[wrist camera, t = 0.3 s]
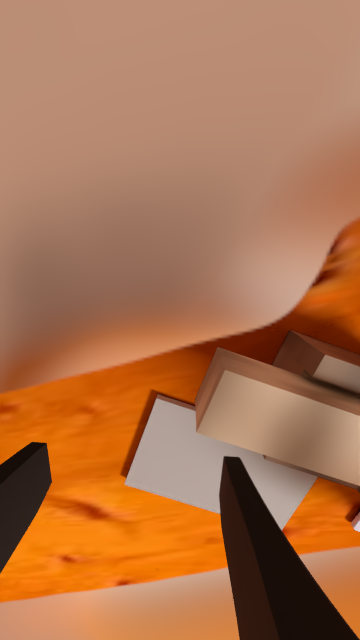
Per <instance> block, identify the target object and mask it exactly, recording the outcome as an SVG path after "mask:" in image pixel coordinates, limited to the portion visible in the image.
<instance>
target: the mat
mask: <svg viewBox="0 0 360 640" xmlns="http://www.w3.org/2000/svg"><path fill="white" fill-rule="evenodd" d="M224 456H231V457H240V459H241V460H242V462H243V464H244V466H245V468H246V470H247V472H248V474H249V476H250V477H251V479H252V481H253V483H254V485H255V487H256V488H257V490H258V492H259V494H260V495H261V497H262V499H263V501H264V502H265V504H266V506H267V507H268V509H269V511H270V512H271V514H272V516H273V517H274V519H275V521H276V522H277V524H278V525H279V527H280V529H281V530H282V529H283V527H284V526H285V524H286V523H287V522H288V520H289V519H290V517H291V516H292V514H293V513H294V511H295V510H296V508H297V507H298V505H299V504H300V503H301V501H302V500H303V498H304V497H305V495H306V494H307V492H308V491H309V489H310V488H311V486H312V485H313V484H314V482H315V481H316V479H317V478H318V477H317V476H314V475H311V474H308V473H305V472H302V471H299V470H295V469H292V468H289V467H286V466H283V465H280V464H277V463H274V462H271V461H268V460H265V459H264V457H263V454H260V453H257V452H254V451H251V450H248V449H244V448H241V447H238V446H235V445H232V444H229V443H226V442H223V441H220V440H217V439H214V438H211V437H208V436H205V435H201V434H198V433H196V409H195V406H192V405H189V404H186V403H183V402H180V401H177V400H174V399H171V398H168V397H165V396H162V395H159V394H157V397H156V400H155V402H154V405H153V408H152V411H151V413H150V416H149V419H148V421H147V424H146V427H145V429H144V432H143V435H142V437H141V440H140V443H139V445H138V448H137V451H136V453H135V456H134V459H133V461H132V464H131V467H130V469H129V472H128V475H127V478H126V481H125V485H128V486H131V487H134V488H138V489H141V490H144V491H147V492H151V493H154V494H157V495H160V496H164V497H167V498H170V499H173V500H177V501H180V502H183V503H186V504H190V505H193V506H196V507H199V508H203V509H206V510H209V511H212V512H216V513H219V514H220V502H219V490H220V482H221V474H222V466H223V458H224Z"/></svg>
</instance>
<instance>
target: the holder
mask: <svg viewBox="0 0 360 640" xmlns="http://www.w3.org/2000/svg"><path fill="white" fill-rule="evenodd" d="M272 366H274V367H277V368H280V369H283V370H286V371H289V372H292V373H295V374H297V375H300V376H303V377H306V378H309V379H312V380H315V381H318V382H320V383H323V384H326V385H329V386H332V387H335V388H338V389H341V390H343V391H346V392H349V393H352V394H355V395H358V396H360V355H359V354H356V353H353V352H351V351H348V350H345V349H342V348H339V347H337V346H334V345H331V344H328V343H325V342H323V341H320V340H317V339H314V338H311V337H309V336H306V335H303V334H300V333H297V332H295V331H292V330H290V331H289V333H288V335H287V337H286V339H285V341H284V342H283V344H282V346H281V348H280V350H279V352H278V354H277V356H276V358H275V360H274V362H273V364H272ZM263 457H264V459H265V460H268V461H271V462H274V463H277V464H280V465H283V466H286V467H289V468H292V469H295V470H299V471H302V472H305V473H308V474H311V475H314V476H317V477H320V478H323V479H326V480H329V481H332V482H336V483H339V484H342V485H345V486H348V487H351V488H354V489H357V490H358V491H359V492H360V486H358V485H355V484H352V483H349V482H346V481H343V480H340V479H337V478H334V477H330V476H327V475H324V474H321V473H318V472H315V471H312V470H309V469H306V468H303V467H300V466H297V465H294V464H291V463H287V462H284V461H281V460H278V459H275V458H272V457H269V456H266V455H263Z"/></svg>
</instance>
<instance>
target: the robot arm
mask: <svg viewBox="0 0 360 640" xmlns="http://www.w3.org/2000/svg"><path fill="white" fill-rule="evenodd" d="M51 483H52V479H51V472H50V464H49V457H48V450H47V443H38V442H31V443H30V444H28V445H27V446H26V447H24V448H23V449H21V450H20V451H19V452H17V453H16V454H14V455H13V456H12V457H10V458H9V459H8V460H6V461H5V462H4V463H2V464H1V465H0V573H1V572H2V570H3V568H4V567H5V565H6V563H7V562H8V560H9V558H10V557H11V555H12V554H13V552H14V550H15V549H16V547H17V545H18V544H19V542H20V540H21V539H22V537H23V535H24V534H25V532H26V530H27V529H28V527H29V525H30V524H31V522H32V520H33V519H34V517H35V515H36V514H37V512H38V510H39V508H40V506H41V504H42V502H43V500H44V498H45V496H46V493H47V491H48V489H49V487H50V485H51ZM219 502H220V515H221V526H222V533H223V539H224V545H225V551H226V557H227V563H228V569H229V575H230V581H231V587H232V593H233V599H234V605H235V611H236V617H237V624H238V630H239V637H240V640H360V639H359V638H358V637H357V636H356V634H355V633H354V632H353V630H352V629H351V628H350V627H349V625H348V624H347V623H346V621H345V620H344V619H343V617H342V616H341V615H340V613H339V612H338V611H337V609H336V608H335V607H334V605H333V604H332V603H331V601H330V600H329V599H328V597H327V596H326V595H325V593H324V592H323V590H322V589H321V588H320V586H319V585H318V584H317V582H316V581H315V579H314V578H313V577H312V575H311V574H310V572H309V571H308V569H307V568H306V567H305V565H304V564H303V562H302V561H301V559H300V558H299V556H298V555H297V553H296V552H295V550H294V549H293V547H292V546H291V544H290V543H289V541H288V540H287V538H286V537H285V535H284V533H283V532H282V530H281V529H280V527H279V525H278V524H277V522H276V521H275V519H274V517H273V516H272V514H271V512H270V511H269V509H268V507H267V506H266V504H265V502H264V501H263V499H262V497H261V495H260V494H259V492H258V490H257V488H256V487H255V485H254V483H253V481H252V479H251V477H250V476H249V474H248V472H247V470H246V468H245V466H244V464H243V462H242V460H241V459H240V457H231V456H224V458H223V466H222V474H221V482H220V490H219ZM351 525H352V527H353V528H354V530H356V531H359V532H360V512H359V513H358V515H357V516H356V517H355V518H354V520H353V521H352V523H351Z"/></svg>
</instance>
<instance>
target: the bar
mask: <svg viewBox="0 0 360 640" xmlns="http://www.w3.org/2000/svg"><path fill="white" fill-rule="evenodd" d="M195 409H196V433H198V434H201V435H205V436H208V437H211V438H214V439H217V440H220V441H223V442H226V443H229V444H232V445H235V446H238V447H241V448H244V449H248V450H251V451H254V452H257V453H260V454H263V455H266V456H269V457H272V458H275V459H278V460H281V461H284V462H287V463H291V464H294V465H297V466H300V467H303V468H306V469H309V470H312V471H315V472H318V473H321V474H324V475H327V476H330V477H334V478H337V479H340V480H343V481H346V482H349V483H352V484H355V485H358V486H360V396H358V395H355V394H352V393H349V392H346V391H343V390H341V389H338V388H335V387H332V386H329V385H326V384H323V383H320V382H318V381H315V380H312V379H309V378H306V377H303V376H300V375H297V374H295V373H292V372H289V371H286V370H283V369H280V368H277V367H274V366H272V365H269V364H266V363H263V362H260V361H257V360H254V359H251V358H249V357H246V356H243V355H240V354H237V353H234V352H231V351H228V350H226V349H223V348H220V347H217V349H216V352H215V354H214V356H213V359H212V361H211V363H210V366H209V368H208V370H207V373H206V375H205V377H204V380H203V382H202V384H201V387H200V389H199V391H198V394H197V396H196V398H195Z"/></svg>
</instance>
